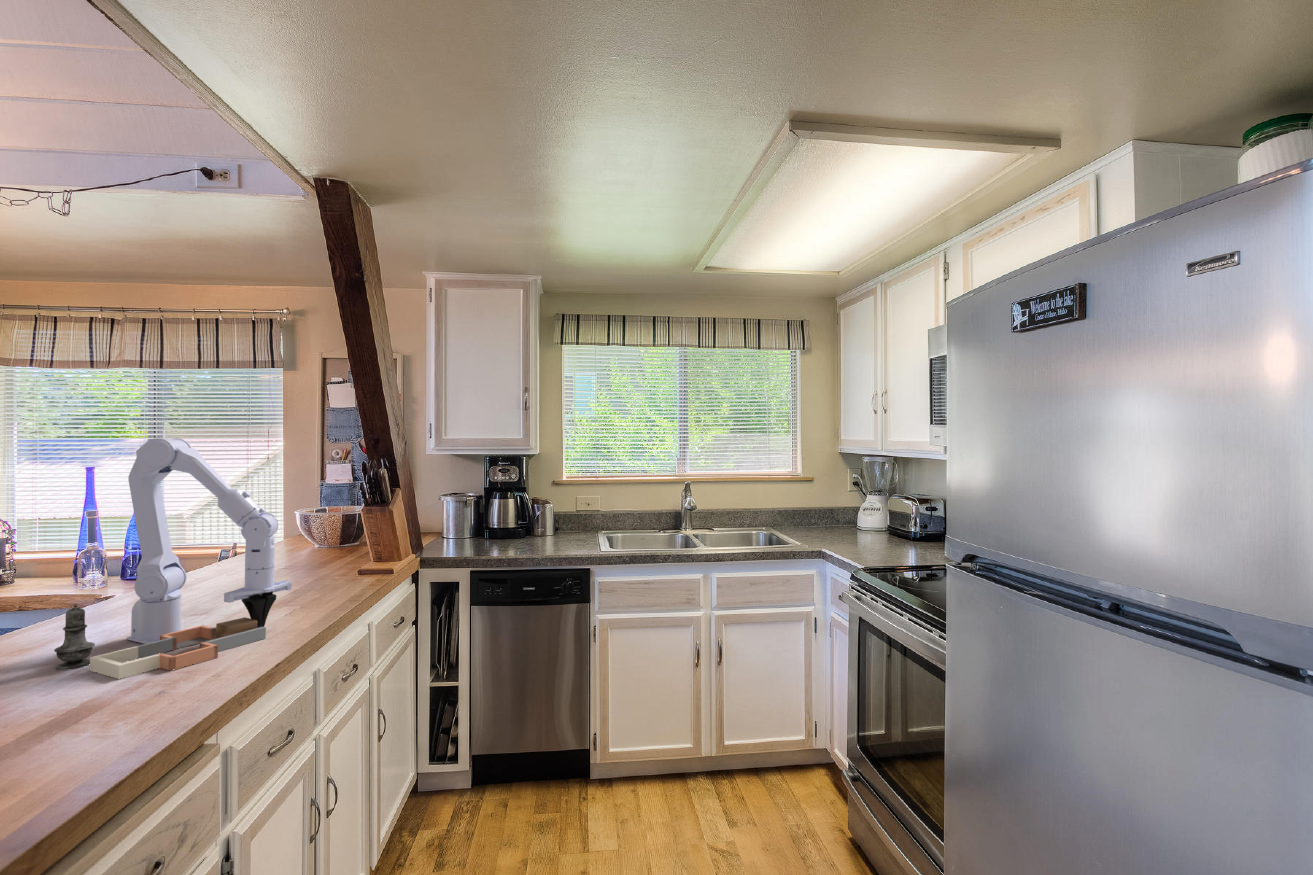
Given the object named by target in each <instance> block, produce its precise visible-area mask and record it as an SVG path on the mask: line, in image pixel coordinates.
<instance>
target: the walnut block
mask: <svg viewBox="0 0 1313 875" xmlns="http://www.w3.org/2000/svg"><path fill="white" fill-rule="evenodd" d="M257 626H258V621H257V620H253V619H251V617H241V618H236V619H231V620H227V621H222V622H218V623H216V625H215V627H216V639H218V638H221V637H225V636H229V635H233V634H237V633H241V632H244V631H248V630H252V629H256V628H257Z"/></svg>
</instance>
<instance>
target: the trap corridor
mask: <svg viewBox="0 0 1313 875" xmlns="http://www.w3.org/2000/svg"><path fill="white" fill-rule="evenodd" d="M266 630H267V628H266V626H264V627H260V628H256V629H252V630H248V631H244V632H241V633H237V634H233V635H229V636H225V637H221V638H218V639H216V626H213V627H212V626H207V625H203V624H202V625H198V626H194V627H189V628H186V629H182V630H181V631H177V632H173V633H168V634H164V635H160V640H159V641H155V642H151V643H147V644H143V643H142V644H139V645H135V646H131V647H127V648H123V649H119V650H115V651H110V652H107V653H103V654H98V655H95V656H89V660H90V665H89V672H94V673H96V672H97V674H100V675H103V676H106V675H107V676H106V677H109V676H110V678H113V677H115V678H114V679H116V678H117V679H116V680H121V679H120V678H122V679H124V678H123V677H126V678H128V676H129V677H132V676H131V675H133V676H136V675H140V674H144V673H147V672H151V671H153V670H152V669H155V670H158V669H162V668H163V670H165V669H168V670H167V671H169V670H173V669H176V670H179V669H178V668H180V669H182V668H181V667H183V666H187V667H190V666H193V665H192V664H194V665H197V664H201V663H203V661H204V662H207V661H211V660H214V659H213V658H215V659H218V658H219V652H222V651H226V650H230V649H232V648H233V649H234V648H237V647H240V646H243V645H244V646H245V645H247V644H251V643H255V642H258V641H262V640H265V639H267V635H266V634H267V632H266ZM191 645H192V646H195V645H199V648H197V649H194V650H190V651H186V652H184V653H179V654H176V655H171V654H167V653H168V652H167V651H169V652H171V651H170V650H173V651H176V649H177V650H180V649H179V648H181V649H183V648H188V647H191ZM164 652H165V653H164ZM159 653H160V654H159ZM139 658H141V659H139ZM135 659H137V660H135ZM126 661H129V662H126ZM124 662H125V663H124ZM200 662H201V663H200ZM189 665H190V666H189ZM157 668H158V669H157ZM183 668H184V667H183ZM150 670H151V671H150ZM173 671H174V670H173ZM143 672H144V673H143Z"/></svg>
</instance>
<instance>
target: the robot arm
mask: <svg viewBox="0 0 1313 875" xmlns="http://www.w3.org/2000/svg"><path fill="white" fill-rule="evenodd" d="M135 454H136V458H135V459H134V463H133V465H132V466H131V467H132V468H131V469H130V471H129V474H128V484H129V492H130V497H131V498H130V499H131V502H132V508H133V514H134V519H135V525H136V526H135V527H136V531H137V536H138V537H137V538H138V542H139V547H140V554H141V559H140V561H139V563H138V565H137V567H136V579H135V582H134V585H133V586H134V593H135V594H136V596H138V597H139V599H138V600H137V601H136V602H135V603H134V605H133V606H132V608H131V618H130V619H131V629H130V630H131V632H130V633H131V634H130V636H126V637H125V638H126V640H128V641H131V642H134V643H135V642H136V643H139V644H142V645H143V644H147V643H151V642H155V641H159V640H160V635H164V634H168V633H173V632H177V631H181V628H182V627H181V626H182V623H181V622H182V592H181V588H183V586H185V585H186V583H187V582H186V581H187V572H186V569H184V568H183V567H182V565H181V563H180V558H179V557H178V555H176V554H175V553H174V552H173V550H172V544H171V543H172V542H171V538H170V532H169V526H168V520H167V515H166V508H165V502H164V496H163V491H162V485H161V483H162V481H163V480H164V479H165V478H167V476H168V475H169V474H171V472H173V471H176V472H181V473H186V474H189V475H191V476H192V477H193V478H194V479H195V480H197V481H198V482H199V483H200V484H201V485H202V486H203V487H204V488H206V489H207V490H208V491H209V492H210V493H211V494H212V495H214V496H215V497H216V498H217V507H218V508H219V509H220V510H221V511H222V512H223V513H224V514H225V515H226V516H227V517H228V518H229V519H230V520H231V521H232V522H233V523H235V525H236V526H237V527H240V528H241V529H240V532H241V535H242V537H243V539H244V540H245V552H244V554H245V555H244V587H239V588H237V589H234V590H230V591H227V592H224V593H223V602H224V603H230V604H231V603H234V602H236V601H239V600H241V602H242V603H243V605H244V606H245V608H246V610H247V612H248V614H249V618H250V619H253V620H257V621H258V626H257V628H260V627H266V626H265V625H266V622H267V619H268V615H269V614H270V613H269V612H270V610H271V609H272V606H273V605H274V604H275V602H276V600H277V594H275V593H277V592H282V591H289V590H292V589H293V588H292V587H293V586H292V585H293V582H292V581H291V580H282V581H281V580H280V581H275V551H276V550H275V548H276V547H275V534H276V533H277V531H278V528H279V522H278V520H277V518H276V517H275V515H274V514H272V513H270V512H266V511H267V509H265V508H264V507H260V506H259V505H258V503H256V502H255V501H254V500H253V499H252V498H251V497H252V496H251V493H250V492H249V491H248V490H246V491H244V490H242V489H241V488H233V487H231V486H230V485H229V484H228V483H227V482H226V481H225V479H223V478H222V476H221V475H220V474H219V473H218V472H217V470H215V468H213V466H212V465H210V463H209V462H208V461H207V460H206V459H205V458H204V457H203V455H202V454H201V453H200V451H198V449H196V448H194V447H192V446H191V444H190V443H189V442H188V441H187V440H185V439H182V438H178V437H177V438H159V437H156V438H150V439H149V440H147V441H146V442H145V443H144V444H142V445H141V446H140V447H139V448H138V449H137V450H136V452H135Z"/></svg>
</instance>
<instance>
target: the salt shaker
mask: <svg viewBox="0 0 1313 875" xmlns="http://www.w3.org/2000/svg"><path fill="white" fill-rule="evenodd" d="M78 606H79V605H78V604H77V603H74V605H73V607H72V608H71V609H69V610H67V611H66V612H65V626H64V627H63V628H62V630H63V632H64V640H63V643H62V645H60V646H58V647H56V648H55V649H54V651H53V652H54V653H56V654H55V655H56V657H57V659H58V660H59V661H61V662H62V663H60V664H59V665H57V666H56V667H55V669H56V670H57V669H59V670H58V671H69V670H68V669H72V670H77V669H81V668H82V669H83V668H85V667H84V666H86V667H88V666H90V665H89V664H90V659H88V658H87V657H90V655H91V653H92V651H93V647H95V645H96V644H95V642H93V641H92V642H91V641H87V638H86V628H87V627H88V625H87V624H86V611H85V609H84V608H81V607H78ZM86 658H87V659H86Z"/></svg>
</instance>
